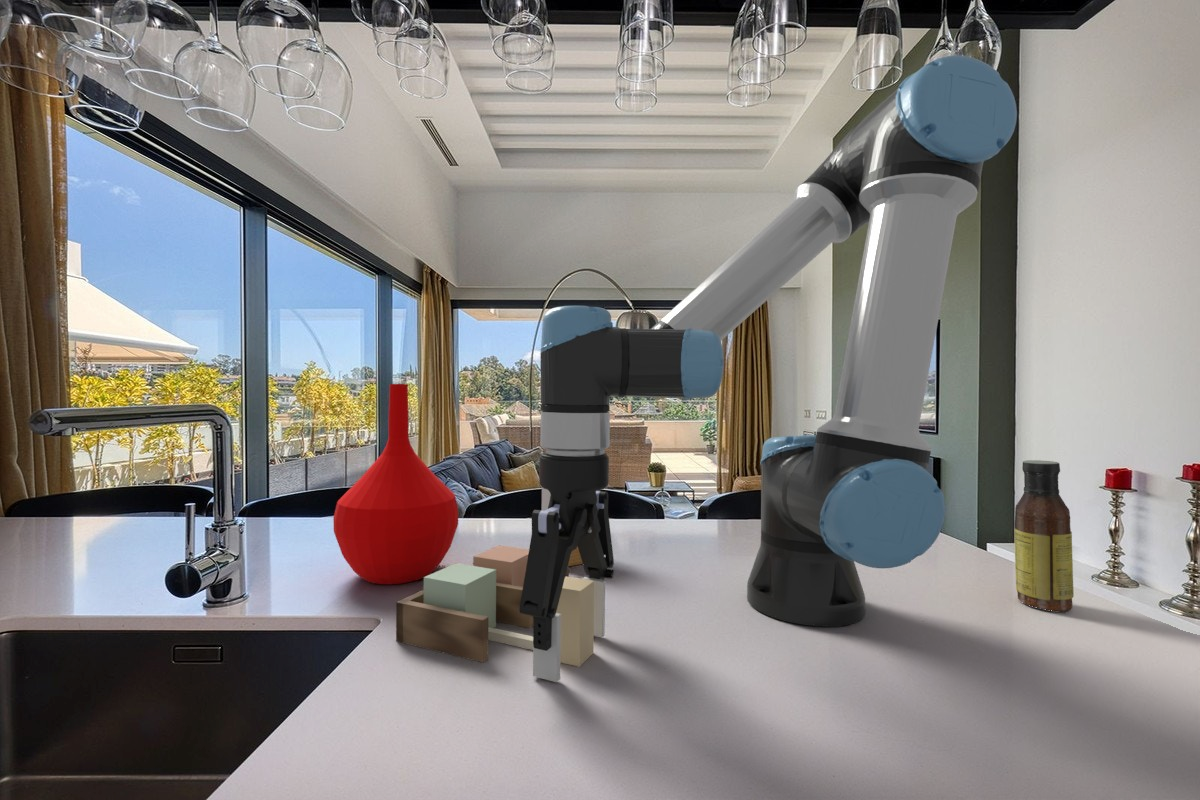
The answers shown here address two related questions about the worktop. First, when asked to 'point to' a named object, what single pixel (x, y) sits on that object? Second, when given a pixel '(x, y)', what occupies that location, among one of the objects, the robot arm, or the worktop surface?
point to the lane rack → (456, 623)
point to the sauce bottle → (1043, 540)
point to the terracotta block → (505, 563)
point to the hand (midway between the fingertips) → (571, 654)
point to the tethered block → (478, 596)
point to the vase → (396, 510)
